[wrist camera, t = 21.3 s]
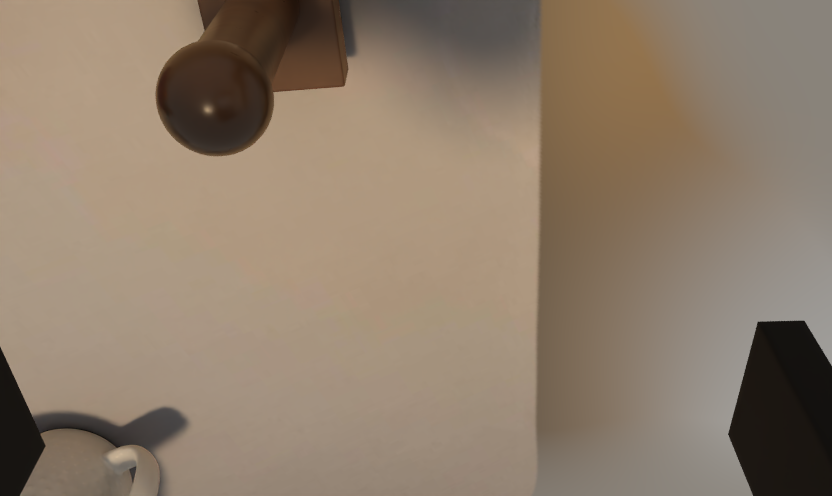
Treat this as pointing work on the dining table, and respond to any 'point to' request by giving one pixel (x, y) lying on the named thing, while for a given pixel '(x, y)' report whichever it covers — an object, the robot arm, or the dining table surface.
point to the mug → (91, 467)
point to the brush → (248, 69)
